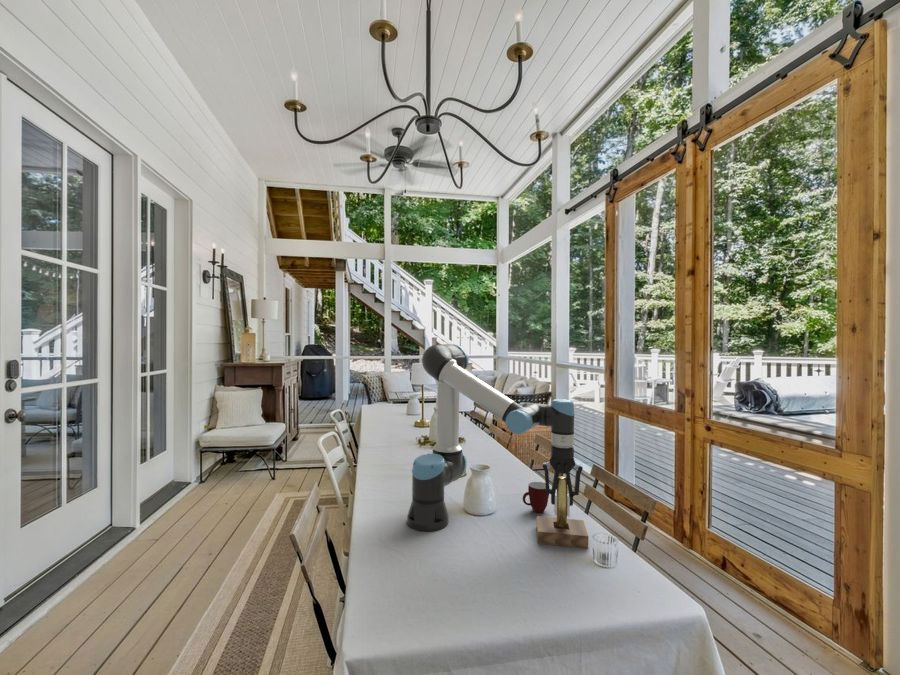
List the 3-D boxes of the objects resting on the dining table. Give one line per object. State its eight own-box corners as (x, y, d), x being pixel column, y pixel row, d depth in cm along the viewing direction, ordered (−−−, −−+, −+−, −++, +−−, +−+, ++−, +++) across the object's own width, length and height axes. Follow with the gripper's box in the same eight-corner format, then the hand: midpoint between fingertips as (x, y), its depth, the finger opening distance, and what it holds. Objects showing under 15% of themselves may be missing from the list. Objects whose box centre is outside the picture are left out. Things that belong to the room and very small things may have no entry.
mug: (528, 517, 158) (529, 490, 158) (518, 508, 166) (519, 483, 166) (553, 513, 162) (553, 487, 161) (542, 505, 169) (542, 480, 169)
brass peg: (556, 526, 141) (557, 479, 141) (556, 522, 144) (556, 475, 144) (567, 527, 140) (567, 479, 140) (566, 523, 144) (566, 476, 144)
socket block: (537, 543, 138) (537, 531, 138) (536, 527, 150) (536, 516, 150) (588, 548, 135) (588, 536, 135) (583, 531, 147) (583, 520, 147)
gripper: (538, 446, 140) (537, 516, 140) (589, 449, 137) (588, 521, 137) (537, 441, 148) (536, 507, 148) (586, 443, 145) (585, 511, 145)
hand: (561, 514), depth 143 cm, fingers closed on brass peg, 3 cm apart
